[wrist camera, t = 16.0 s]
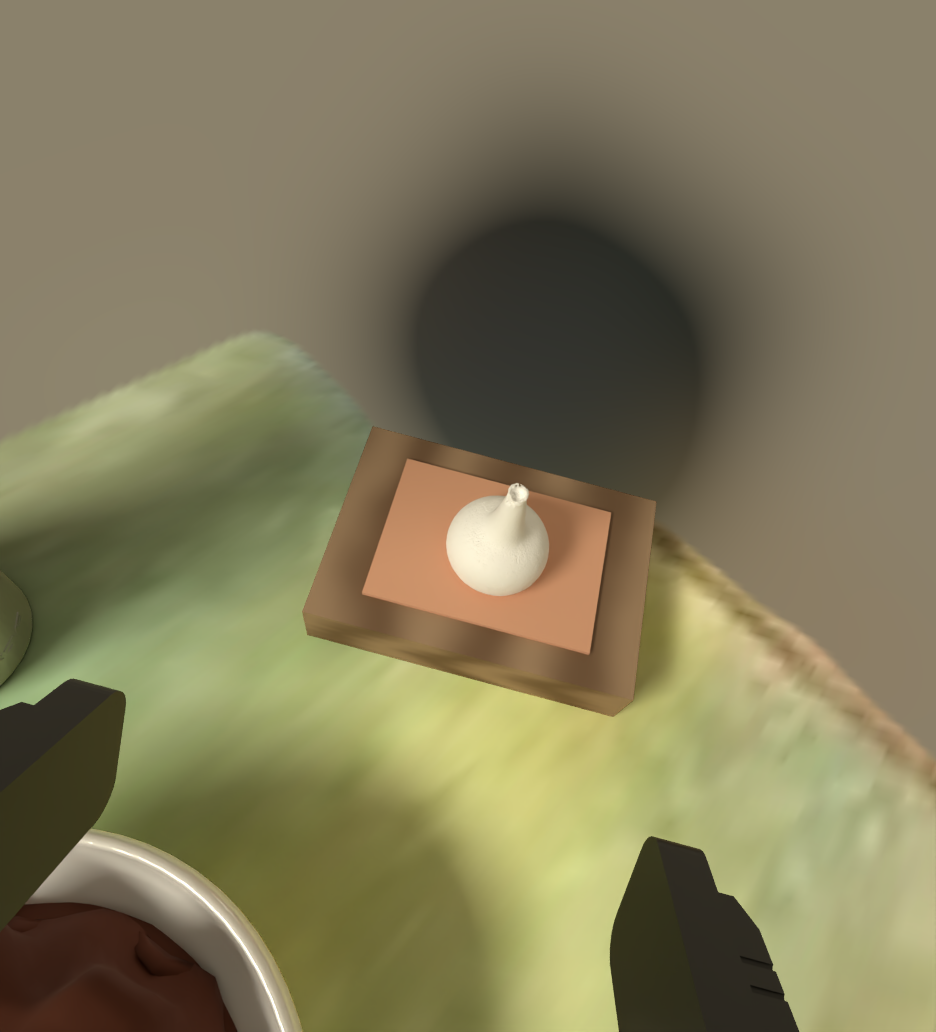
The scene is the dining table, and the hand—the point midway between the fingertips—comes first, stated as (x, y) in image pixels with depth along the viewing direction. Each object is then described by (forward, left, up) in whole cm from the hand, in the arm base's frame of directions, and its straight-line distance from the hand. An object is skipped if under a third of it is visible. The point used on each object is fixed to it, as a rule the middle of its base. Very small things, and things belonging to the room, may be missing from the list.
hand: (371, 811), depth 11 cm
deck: (+2, +20, -33) cm, 38 cm away
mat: (+2, +20, -29) cm, 35 cm away
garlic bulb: (+2, +19, -29) cm, 35 cm away
